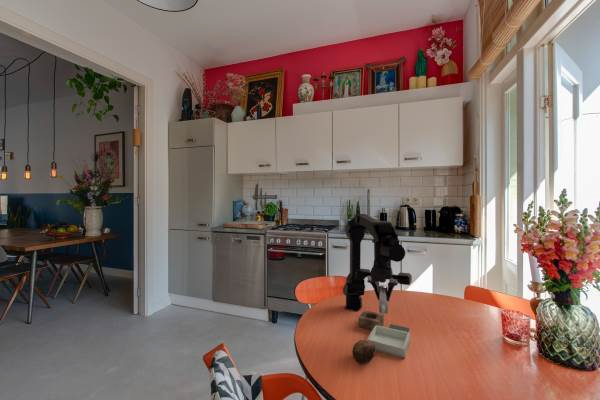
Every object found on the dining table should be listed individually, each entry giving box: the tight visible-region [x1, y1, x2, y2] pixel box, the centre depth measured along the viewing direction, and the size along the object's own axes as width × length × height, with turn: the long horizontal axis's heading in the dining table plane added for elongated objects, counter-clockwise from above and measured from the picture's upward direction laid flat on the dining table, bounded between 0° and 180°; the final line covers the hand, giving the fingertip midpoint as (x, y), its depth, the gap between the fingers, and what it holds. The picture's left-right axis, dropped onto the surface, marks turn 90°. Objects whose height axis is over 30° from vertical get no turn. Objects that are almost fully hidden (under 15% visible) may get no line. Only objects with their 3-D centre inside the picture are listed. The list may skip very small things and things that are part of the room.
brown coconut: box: [351, 339, 376, 365], centre depth 84 cm, size 8×8×6 cm
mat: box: [388, 323, 410, 333], centre depth 103 cm, size 7×7×1 cm
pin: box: [378, 284, 389, 315], centre depth 97 cm, size 3×3×9 cm
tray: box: [366, 325, 411, 359], centre depth 93 cm, size 12×12×3 cm
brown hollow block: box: [357, 310, 385, 332], centre depth 107 cm, size 8×8×4 cm
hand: (383, 300), depth 97 cm, fingers closed on pin, 3 cm apart
